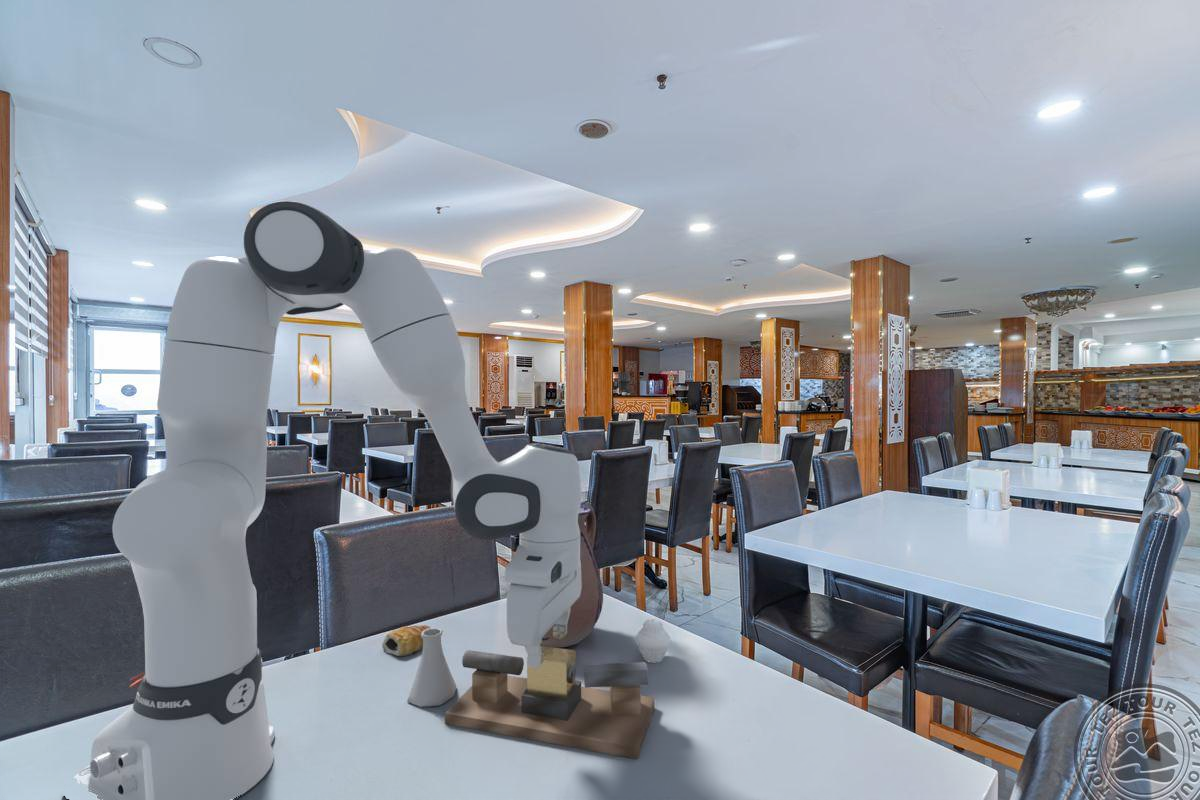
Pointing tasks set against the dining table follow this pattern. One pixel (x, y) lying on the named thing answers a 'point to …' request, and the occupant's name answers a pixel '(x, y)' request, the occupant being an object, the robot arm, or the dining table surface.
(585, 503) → the ceramic pitcher
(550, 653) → the tan rectangular block
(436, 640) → the flask
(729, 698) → the dining table surface
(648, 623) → the white rounded piece
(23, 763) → the dining table surface
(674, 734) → the dining table surface
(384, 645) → the pastry
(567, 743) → the shaft stand
